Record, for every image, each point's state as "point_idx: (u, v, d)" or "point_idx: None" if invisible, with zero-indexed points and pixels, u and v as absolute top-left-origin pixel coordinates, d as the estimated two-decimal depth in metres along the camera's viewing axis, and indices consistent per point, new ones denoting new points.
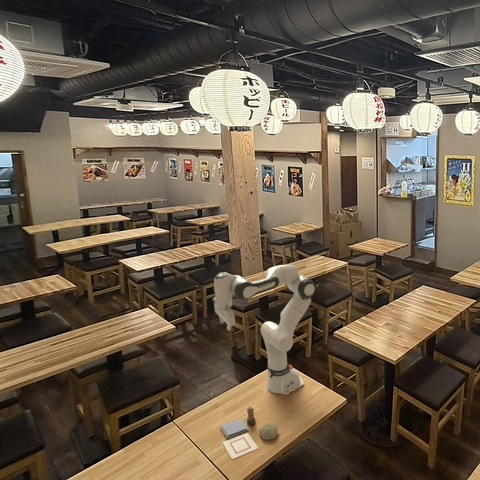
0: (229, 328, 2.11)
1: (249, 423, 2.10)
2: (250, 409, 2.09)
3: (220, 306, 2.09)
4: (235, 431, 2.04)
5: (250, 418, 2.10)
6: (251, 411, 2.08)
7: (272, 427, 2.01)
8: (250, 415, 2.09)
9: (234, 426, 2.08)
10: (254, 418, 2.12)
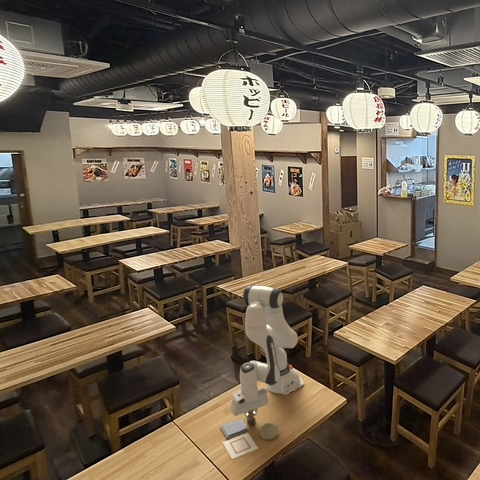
0: None
1: (249, 423, 2.10)
2: None
3: (257, 395, 2.06)
4: (235, 431, 2.04)
5: (250, 418, 2.10)
6: (251, 411, 2.08)
7: (272, 427, 2.01)
8: (250, 415, 2.09)
9: (234, 426, 2.08)
10: (254, 418, 2.12)
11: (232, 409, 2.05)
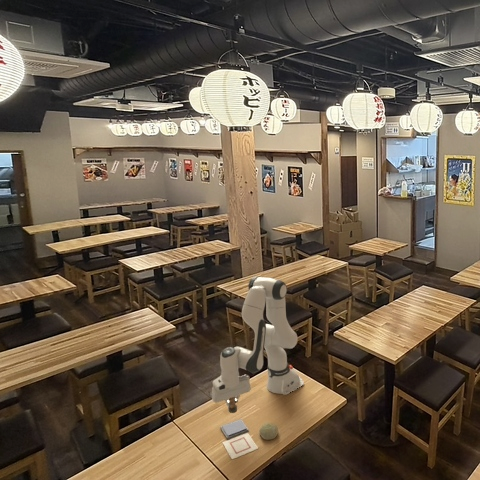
0: None
1: (230, 410, 2.02)
2: None
3: (238, 381, 1.98)
4: (235, 431, 2.04)
5: (231, 405, 2.02)
6: (232, 398, 2.01)
7: (272, 427, 2.01)
8: (231, 402, 2.02)
9: (234, 426, 2.08)
10: (236, 405, 2.04)
11: (212, 396, 1.98)
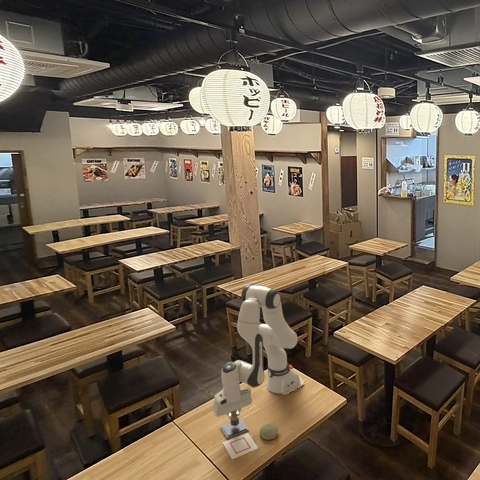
0: None
1: (232, 423, 2.05)
2: None
3: (240, 395, 2.01)
4: (235, 431, 2.04)
5: (233, 418, 2.05)
6: (234, 411, 2.04)
7: (272, 427, 2.01)
8: (233, 415, 2.04)
9: (234, 426, 2.08)
10: (238, 418, 2.07)
11: (214, 410, 2.01)
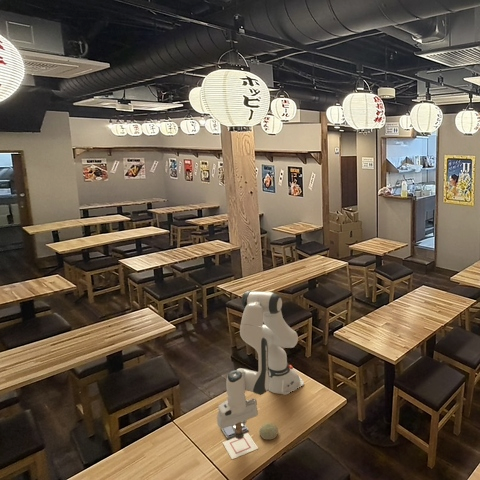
0: None
1: (237, 436, 1.93)
2: None
3: (245, 406, 1.89)
4: None
5: (238, 431, 1.93)
6: (239, 423, 1.91)
7: (272, 427, 2.01)
8: (238, 428, 1.92)
9: None
10: (242, 431, 1.95)
11: (218, 421, 1.88)
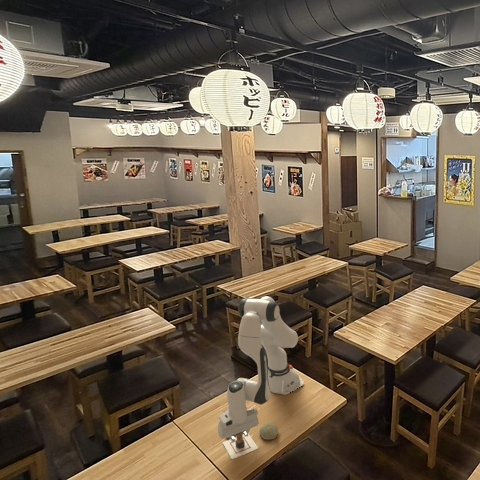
0: None
1: (238, 446, 1.94)
2: None
3: (246, 416, 1.90)
4: None
5: (239, 441, 1.94)
6: (240, 433, 1.93)
7: (272, 427, 2.01)
8: (239, 438, 1.94)
9: None
10: (243, 440, 1.97)
11: (219, 431, 1.90)
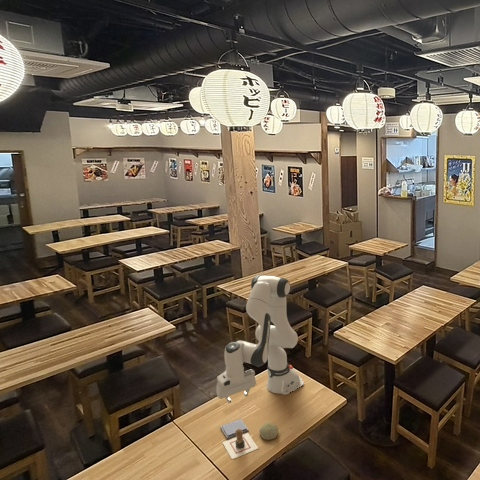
0: None
1: (238, 446, 1.94)
2: (239, 431, 1.93)
3: (243, 376, 1.93)
4: (235, 431, 2.04)
5: (239, 441, 1.94)
6: (240, 433, 1.93)
7: (272, 427, 2.01)
8: (239, 438, 1.94)
9: (234, 426, 2.08)
10: (243, 440, 1.97)
11: (217, 392, 1.93)
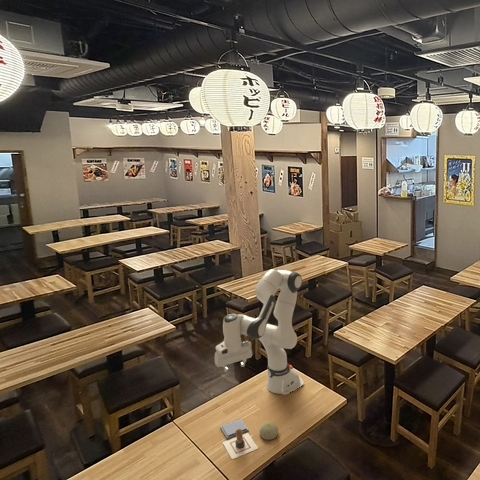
0: None
1: (238, 446, 1.94)
2: (239, 431, 1.93)
3: (240, 346, 2.05)
4: (235, 431, 2.04)
5: (239, 441, 1.94)
6: (240, 433, 1.93)
7: (272, 427, 2.01)
8: (239, 438, 1.94)
9: (234, 426, 2.08)
10: (243, 440, 1.97)
11: (215, 360, 2.04)
